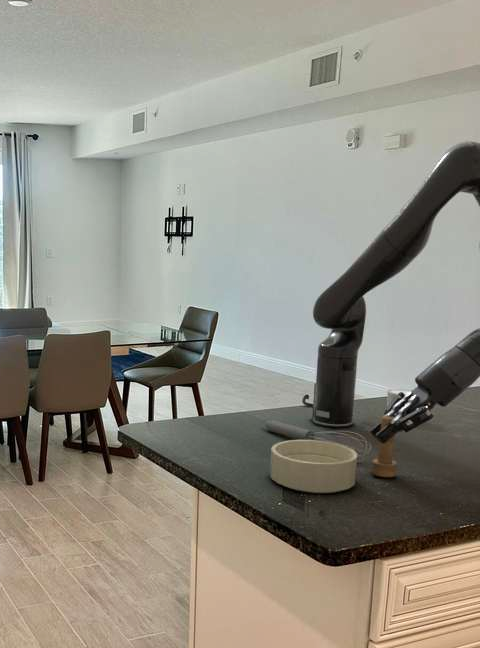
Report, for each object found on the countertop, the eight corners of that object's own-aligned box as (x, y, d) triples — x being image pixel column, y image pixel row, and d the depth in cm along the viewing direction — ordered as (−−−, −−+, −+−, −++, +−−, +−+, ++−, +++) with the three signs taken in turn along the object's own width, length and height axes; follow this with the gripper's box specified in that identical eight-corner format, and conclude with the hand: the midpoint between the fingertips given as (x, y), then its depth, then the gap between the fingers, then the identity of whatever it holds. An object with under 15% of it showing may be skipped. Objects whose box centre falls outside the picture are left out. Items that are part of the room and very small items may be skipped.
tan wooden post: (367, 470, 140) (371, 415, 137) (386, 469, 141) (391, 413, 138) (380, 478, 136) (386, 421, 133) (400, 476, 137) (406, 419, 134)
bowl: (256, 471, 142) (257, 442, 141) (326, 465, 145) (328, 437, 144) (294, 498, 127) (296, 467, 126) (372, 491, 130) (374, 460, 129)
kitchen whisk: (273, 426, 174) (274, 402, 173) (377, 467, 144) (379, 437, 142) (252, 429, 172) (254, 404, 170) (353, 471, 142) (356, 441, 140)
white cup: (418, 421, 177) (421, 394, 176) (391, 422, 177) (394, 394, 176) (406, 414, 184) (409, 388, 182) (380, 415, 184) (382, 389, 182)
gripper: (421, 356, 139) (352, 415, 143) (450, 369, 125) (374, 434, 130) (446, 382, 140) (377, 440, 144) (478, 398, 126) (401, 462, 130)
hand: (376, 437), depth 137 cm, fingers closed on tan wooden post, 2 cm apart
